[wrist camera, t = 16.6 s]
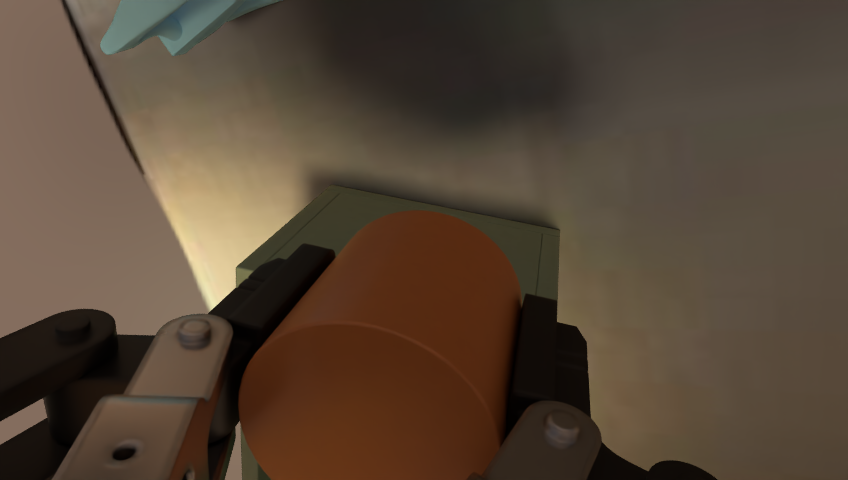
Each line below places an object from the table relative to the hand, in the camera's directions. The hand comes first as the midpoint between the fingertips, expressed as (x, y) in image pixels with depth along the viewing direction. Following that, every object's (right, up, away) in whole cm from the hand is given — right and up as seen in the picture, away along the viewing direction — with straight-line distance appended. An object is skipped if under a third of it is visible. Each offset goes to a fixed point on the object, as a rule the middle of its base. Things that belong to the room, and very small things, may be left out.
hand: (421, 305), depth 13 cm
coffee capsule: (0, 0, 0) cm, 0 cm away
